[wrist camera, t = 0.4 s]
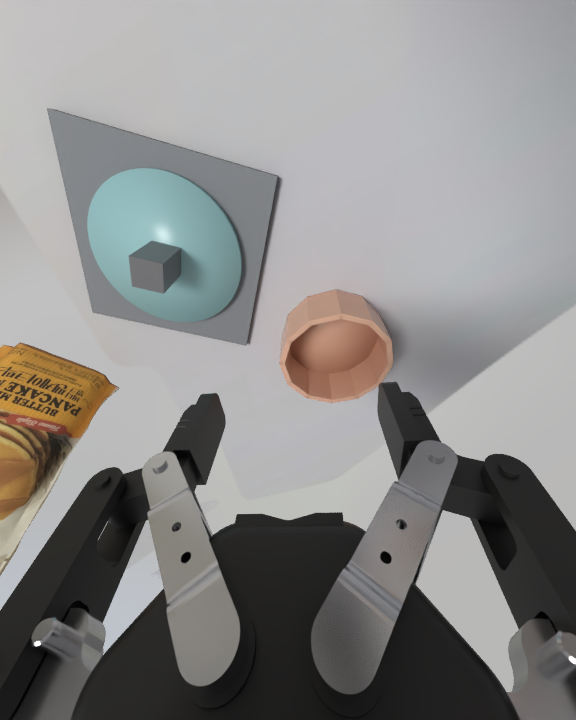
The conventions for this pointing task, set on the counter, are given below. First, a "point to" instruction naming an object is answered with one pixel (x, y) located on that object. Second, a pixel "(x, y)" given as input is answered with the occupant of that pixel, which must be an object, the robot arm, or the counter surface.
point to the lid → (165, 244)
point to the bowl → (335, 347)
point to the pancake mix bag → (39, 430)
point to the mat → (216, 176)
